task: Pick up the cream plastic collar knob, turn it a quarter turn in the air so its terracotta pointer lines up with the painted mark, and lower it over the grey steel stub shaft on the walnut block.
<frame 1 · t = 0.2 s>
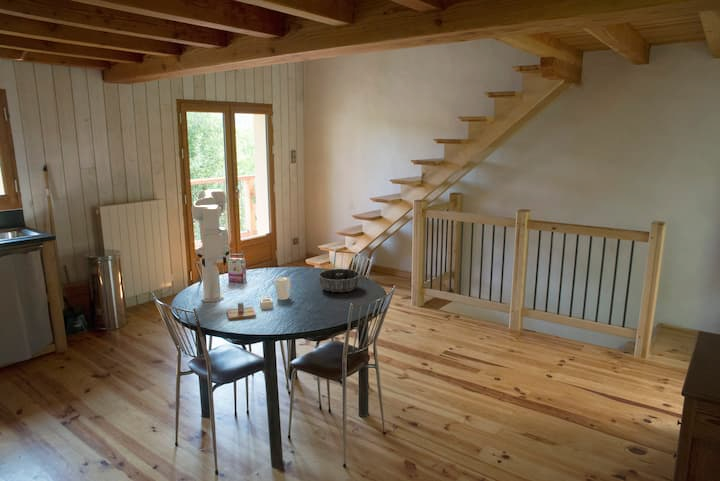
hand: (214, 265, 251), 31 cm above the table, fingers open, 9 cm apart
shaft block: (241, 314, 270), on the table
knob: (266, 307, 282), on the table
cup: (283, 298, 298), on the table
bundt pan: (339, 289, 316), on the table
candy bar box: (237, 282, 334), on the table
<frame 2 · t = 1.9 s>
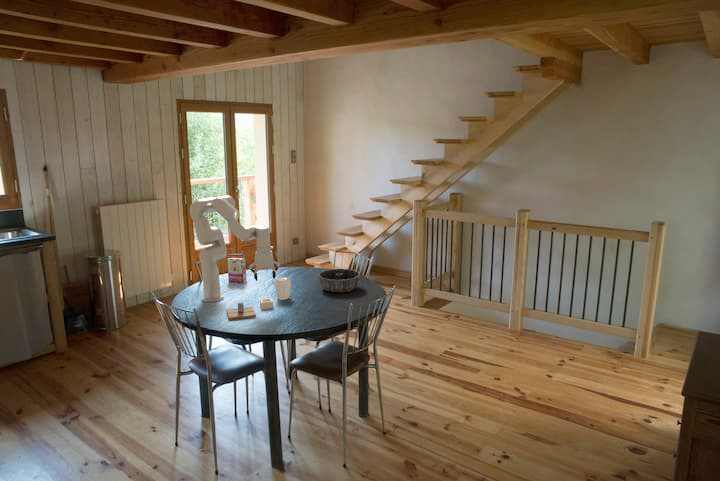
hand: (265, 279, 279), 16 cm above the table, fingers open, 9 cm apart
nothing on the table moved.
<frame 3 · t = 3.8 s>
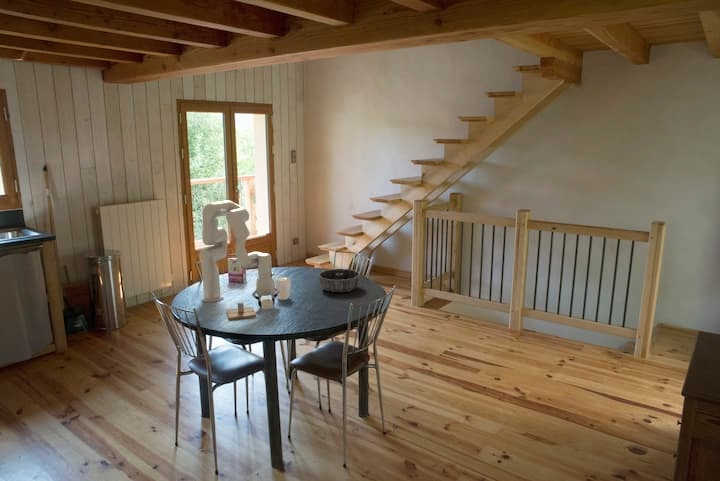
hand: (266, 305, 282), 1 cm above the table, fingers closed on knob, 6 cm apart
knob: (266, 307, 282), on the table, touching gripper
everything else where it was.
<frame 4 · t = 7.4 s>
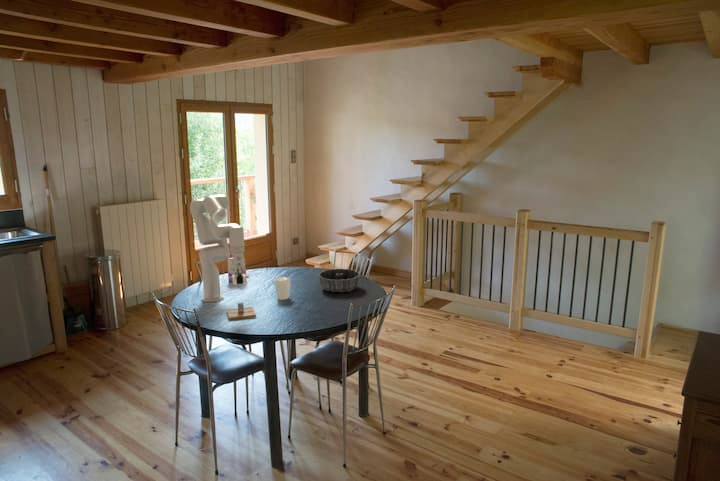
hand: (239, 281, 266), 19 cm above the table, fingers closed on knob, 6 cm apart
knob: (239, 283, 266), point 18 cm above the table, touching gripper
everything else where it was.
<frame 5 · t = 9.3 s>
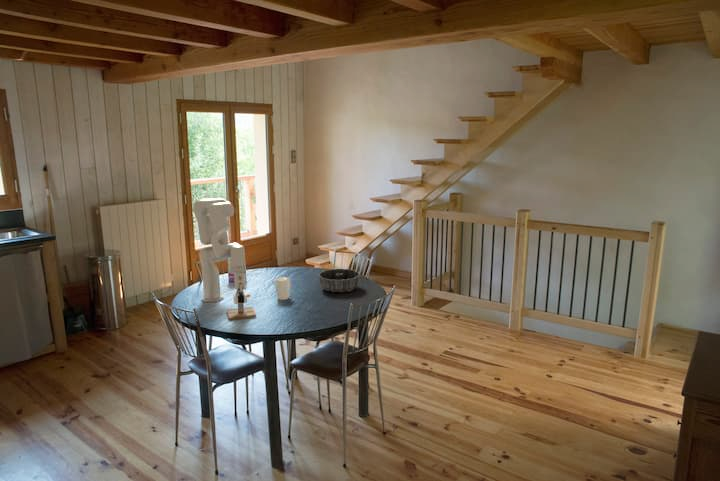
hand: (240, 300, 268), 8 cm above the table, fingers closed on knob, 6 cm apart
knob: (240, 301, 268), point 7 cm above the table, touching gripper
everything else where it was.
when the fingers open (3 cm above the table, at t = 10.8 s): knob stays where it is, resting on shaft block.
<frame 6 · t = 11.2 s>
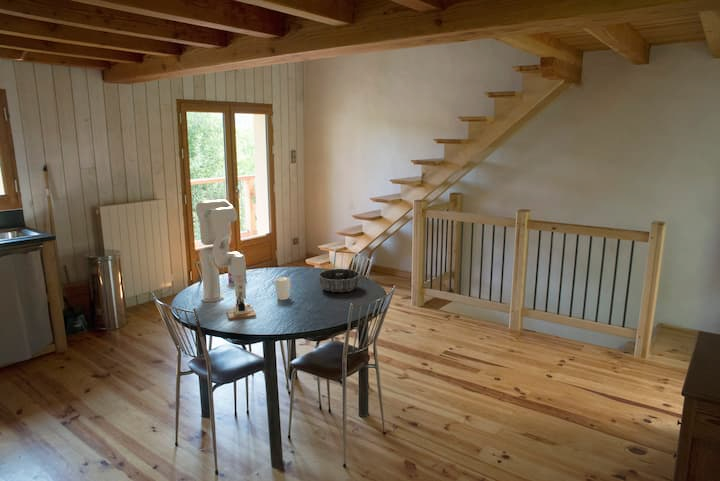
hand: (240, 308, 269), 4 cm above the table, fingers open, 9 cm apart
knob: (240, 312, 270), point 2 cm above the table, touching shaft block
everything else where it was.
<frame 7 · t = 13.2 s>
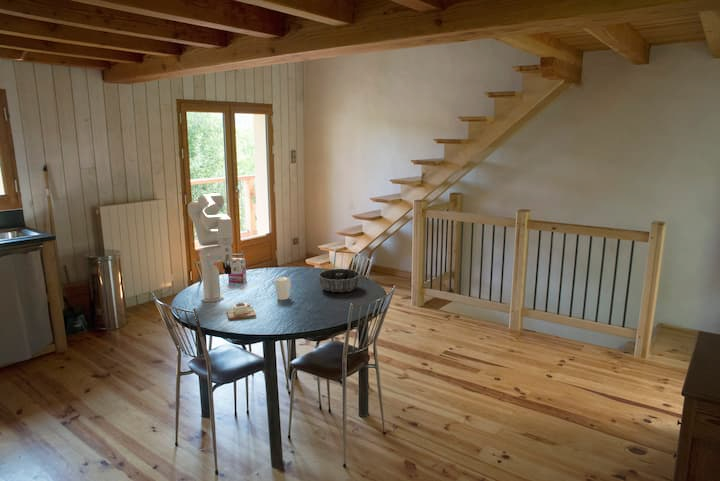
hand: (227, 271, 268), 24 cm above the table, fingers open, 9 cm apart
nothing on the table moved.
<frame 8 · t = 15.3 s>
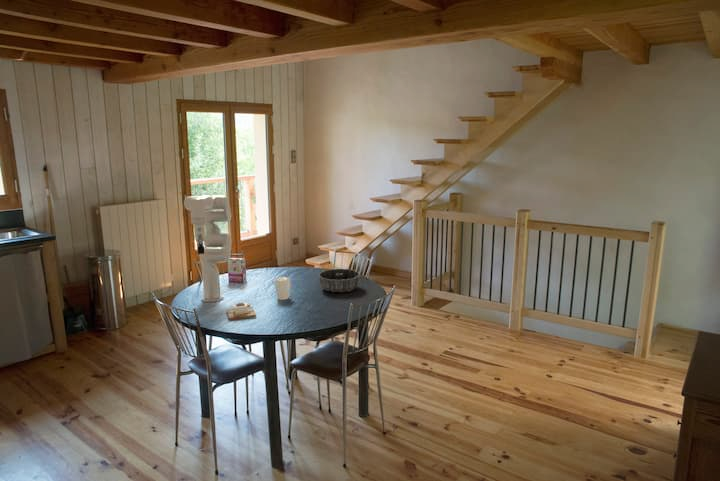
hand: (200, 251, 271), 33 cm above the table, fingers open, 9 cm apart
nothing on the table moved.
at the end: knob 0.1 cm off-centre on the shaft block, point 1.6 cm above the shaft block's base; the gripper is holding nothing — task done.
